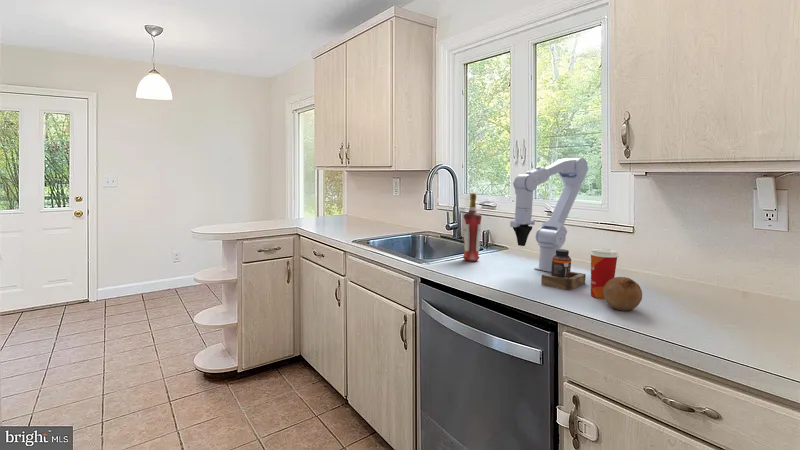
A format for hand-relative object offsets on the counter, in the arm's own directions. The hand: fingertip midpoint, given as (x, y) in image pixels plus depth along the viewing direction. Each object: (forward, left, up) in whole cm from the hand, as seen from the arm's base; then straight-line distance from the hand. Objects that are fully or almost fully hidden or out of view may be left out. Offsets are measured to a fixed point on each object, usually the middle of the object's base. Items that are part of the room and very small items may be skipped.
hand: (521, 245), depth 153 cm
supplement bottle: (+3, +16, -11) cm, 19 cm away
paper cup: (+9, +31, -11) cm, 34 cm away
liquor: (-6, -26, -11) cm, 29 cm away
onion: (+17, +39, -11) cm, 44 cm away
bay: (+3, +17, -10) cm, 20 cm away
